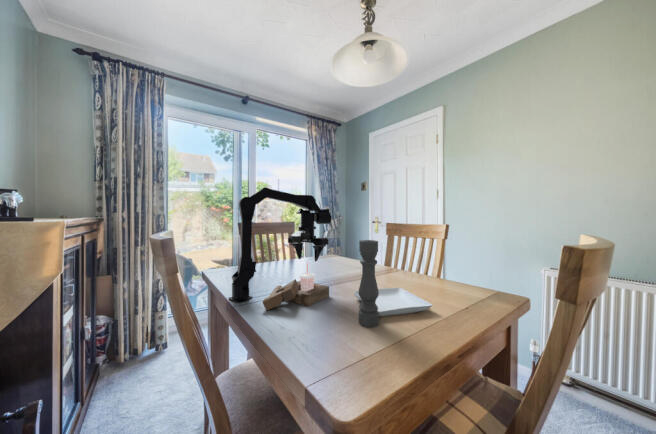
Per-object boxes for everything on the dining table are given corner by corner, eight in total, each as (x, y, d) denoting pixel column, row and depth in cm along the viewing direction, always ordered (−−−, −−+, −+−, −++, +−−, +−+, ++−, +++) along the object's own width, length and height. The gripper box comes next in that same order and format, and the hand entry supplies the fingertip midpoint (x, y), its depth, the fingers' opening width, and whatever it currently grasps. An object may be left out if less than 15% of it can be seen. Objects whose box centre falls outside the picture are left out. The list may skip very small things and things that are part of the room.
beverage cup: (314, 294, 101) (314, 260, 101) (314, 299, 95) (315, 263, 95) (299, 294, 101) (299, 260, 100) (299, 300, 95) (299, 263, 94)
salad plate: (351, 299, 97) (351, 290, 97) (399, 294, 102) (399, 286, 102) (375, 322, 76) (375, 311, 76) (434, 315, 82) (434, 304, 81)
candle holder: (380, 320, 77) (380, 240, 76) (377, 328, 71) (377, 242, 71) (360, 317, 79) (360, 239, 78) (356, 325, 73) (356, 241, 73)
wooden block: (290, 288, 84) (296, 276, 102) (261, 301, 84) (273, 287, 102) (294, 298, 84) (300, 284, 102) (266, 311, 84) (276, 295, 102)
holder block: (278, 298, 97) (278, 288, 97) (301, 289, 107) (301, 280, 107) (308, 306, 88) (308, 295, 88) (329, 296, 99) (329, 286, 99)
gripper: (278, 224, 106) (278, 260, 106) (312, 225, 95) (312, 266, 95) (296, 223, 115) (296, 256, 115) (329, 224, 104) (329, 261, 104)
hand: (307, 260), depth 107 cm, fingers open, 9 cm apart
